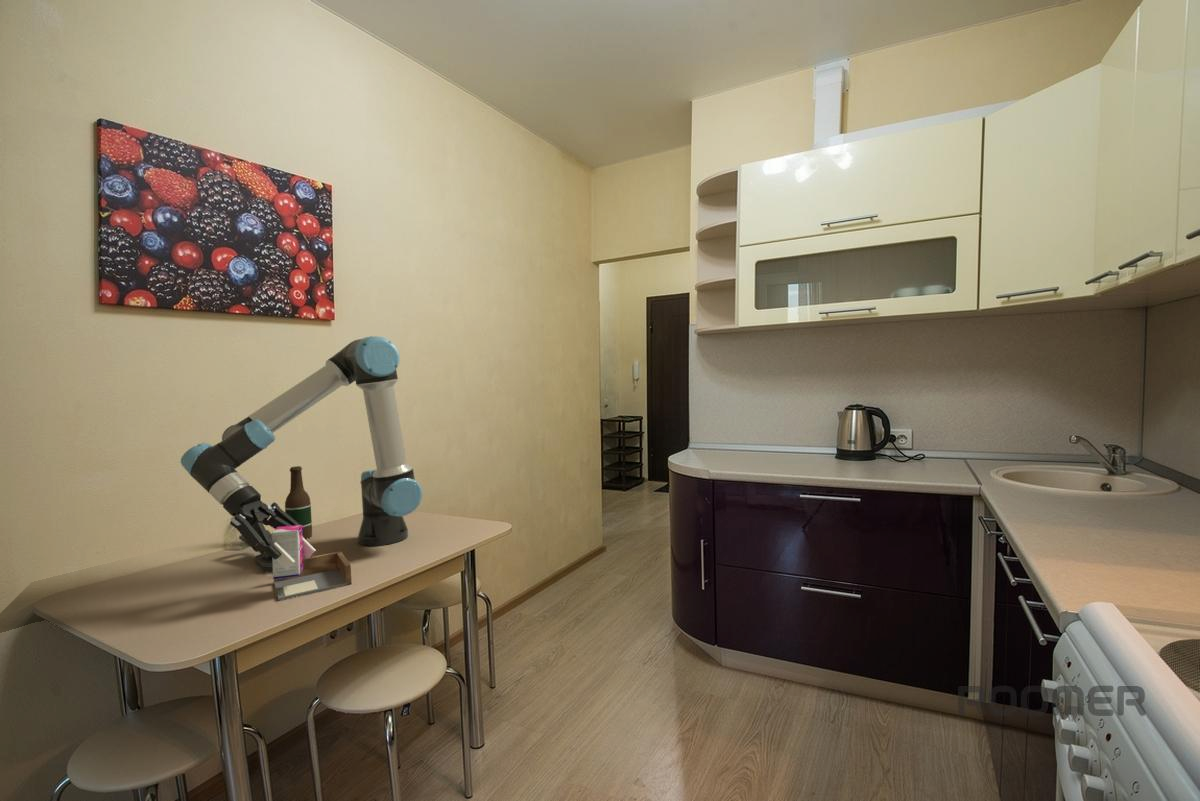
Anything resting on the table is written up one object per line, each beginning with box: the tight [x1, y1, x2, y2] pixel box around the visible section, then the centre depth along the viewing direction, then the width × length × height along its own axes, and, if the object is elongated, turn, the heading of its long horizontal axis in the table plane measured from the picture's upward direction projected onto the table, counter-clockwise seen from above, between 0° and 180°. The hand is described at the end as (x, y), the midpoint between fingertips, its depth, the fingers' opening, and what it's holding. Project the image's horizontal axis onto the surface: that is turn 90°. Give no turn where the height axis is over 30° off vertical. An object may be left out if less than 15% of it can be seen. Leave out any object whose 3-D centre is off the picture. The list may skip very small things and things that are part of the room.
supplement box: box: [271, 525, 304, 580], centre depth 132 cm, size 6×6×12 cm
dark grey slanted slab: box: [238, 529, 273, 574], centre depth 156 cm, size 9×7×25 cm
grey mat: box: [273, 569, 352, 601], centre depth 136 cm, size 16×14×1 cm
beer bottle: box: [284, 465, 313, 540], centre depth 177 cm, size 8×8×24 cm
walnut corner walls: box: [273, 550, 352, 586], centre depth 136 cm, size 16×14×5 cm
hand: (301, 559), depth 131 cm, fingers closed on supplement box, 7 cm apart
